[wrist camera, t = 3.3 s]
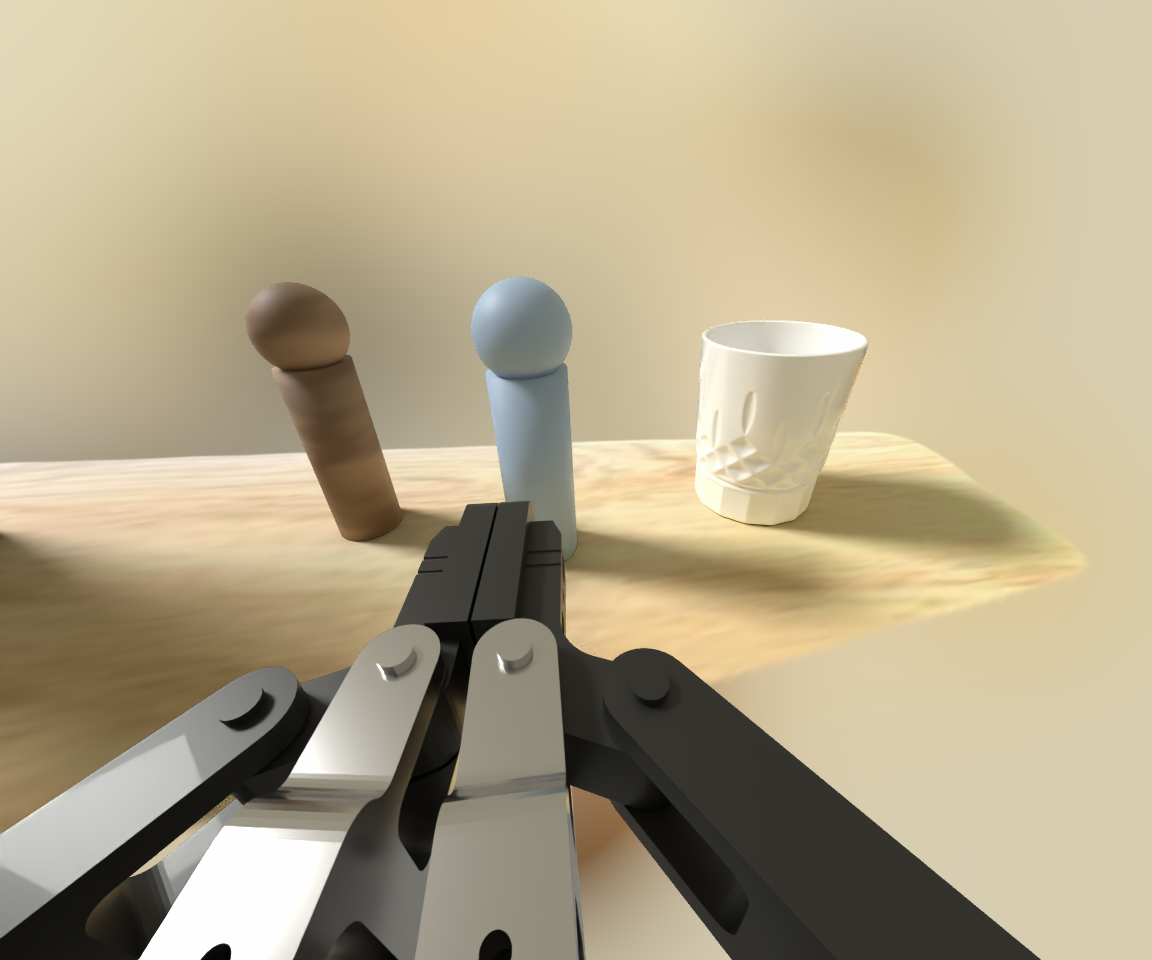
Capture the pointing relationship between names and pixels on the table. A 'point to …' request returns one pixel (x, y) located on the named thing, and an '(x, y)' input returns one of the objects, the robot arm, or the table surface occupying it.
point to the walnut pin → (326, 404)
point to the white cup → (770, 414)
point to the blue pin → (530, 396)
